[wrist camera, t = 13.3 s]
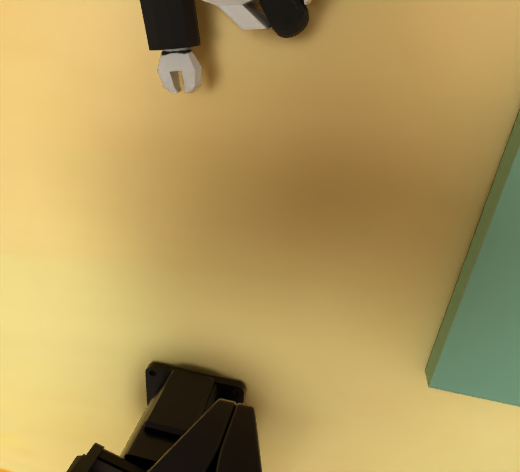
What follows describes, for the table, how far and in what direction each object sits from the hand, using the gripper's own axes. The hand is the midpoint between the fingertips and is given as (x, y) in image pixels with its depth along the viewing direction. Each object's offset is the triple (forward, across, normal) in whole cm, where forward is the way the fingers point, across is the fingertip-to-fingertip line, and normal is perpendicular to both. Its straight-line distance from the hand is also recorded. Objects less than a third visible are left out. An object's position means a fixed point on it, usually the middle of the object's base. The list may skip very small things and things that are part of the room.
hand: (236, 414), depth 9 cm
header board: (+12, -15, -2) cm, 19 cm away
